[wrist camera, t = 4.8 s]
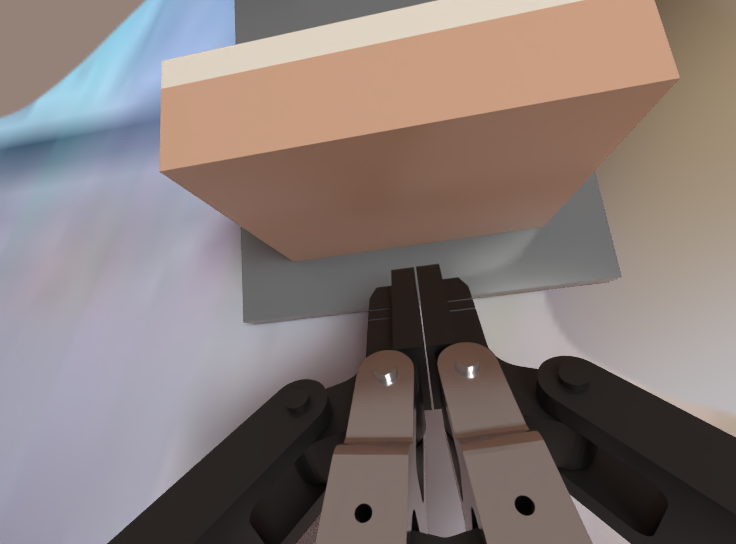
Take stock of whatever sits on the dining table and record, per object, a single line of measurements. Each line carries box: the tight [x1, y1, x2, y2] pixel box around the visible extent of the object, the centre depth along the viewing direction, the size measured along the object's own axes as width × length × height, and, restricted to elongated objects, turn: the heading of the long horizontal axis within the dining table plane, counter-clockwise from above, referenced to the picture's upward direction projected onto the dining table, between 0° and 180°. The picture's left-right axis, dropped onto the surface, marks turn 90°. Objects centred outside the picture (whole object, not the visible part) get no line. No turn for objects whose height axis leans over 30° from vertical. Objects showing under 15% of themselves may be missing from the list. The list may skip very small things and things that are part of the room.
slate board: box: [235, 0, 621, 324], centre depth 19 cm, size 16×22×1 cm
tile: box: [159, 0, 680, 262], centre depth 13 cm, size 11×3×9 cm, turn 96°
